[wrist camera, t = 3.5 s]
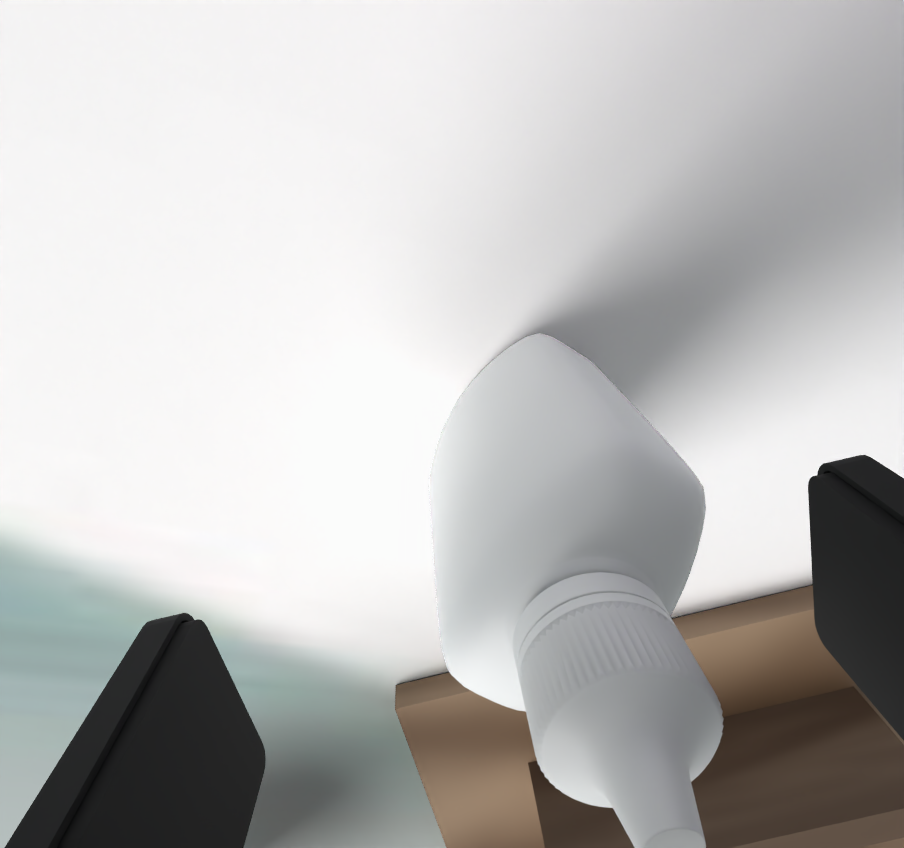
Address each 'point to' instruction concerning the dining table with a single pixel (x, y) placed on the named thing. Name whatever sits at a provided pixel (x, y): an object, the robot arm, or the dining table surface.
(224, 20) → the dining table surface
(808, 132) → the dining table surface
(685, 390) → the dining table surface
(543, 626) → the eye dropper bottle
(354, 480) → the dining table surface
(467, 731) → the walnut stand
